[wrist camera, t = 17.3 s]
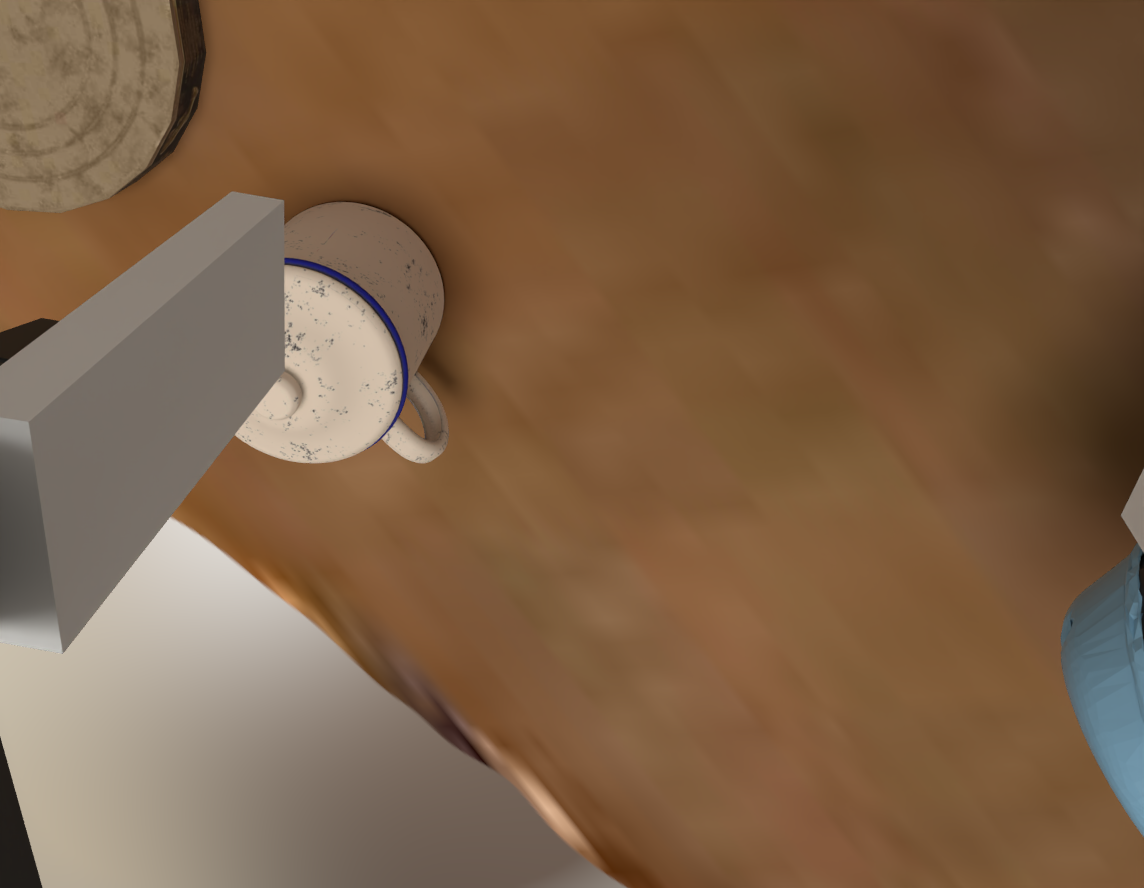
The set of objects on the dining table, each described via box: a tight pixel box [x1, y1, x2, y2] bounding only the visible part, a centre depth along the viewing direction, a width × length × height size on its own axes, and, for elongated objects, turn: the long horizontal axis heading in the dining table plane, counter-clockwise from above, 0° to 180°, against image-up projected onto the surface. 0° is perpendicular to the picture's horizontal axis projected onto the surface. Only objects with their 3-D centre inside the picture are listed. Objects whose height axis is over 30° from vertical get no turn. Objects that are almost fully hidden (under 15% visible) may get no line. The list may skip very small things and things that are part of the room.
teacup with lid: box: [235, 202, 449, 463], centre depth 46 cm, size 12×9×12 cm
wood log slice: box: [0, 0, 206, 213], centre depth 44 cm, size 16×16×3 cm
